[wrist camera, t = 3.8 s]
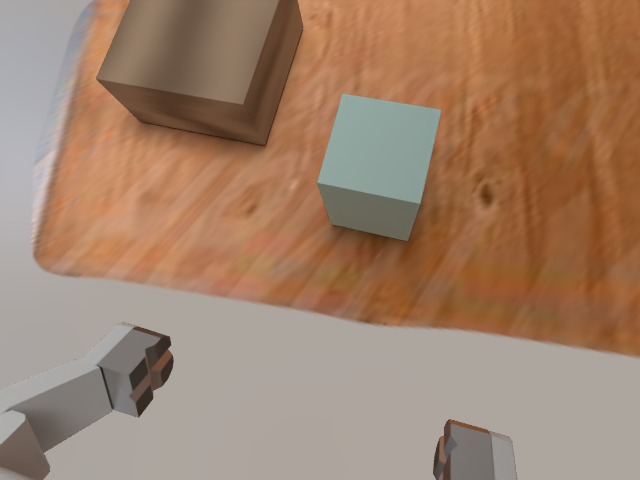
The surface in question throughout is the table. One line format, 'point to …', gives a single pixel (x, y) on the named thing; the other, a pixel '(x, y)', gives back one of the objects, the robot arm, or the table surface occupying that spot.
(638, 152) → the table surface
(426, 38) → the table surface
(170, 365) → the robot arm
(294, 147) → the table surface
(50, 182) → the table surface
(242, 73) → the walnut block
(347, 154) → the sage block
